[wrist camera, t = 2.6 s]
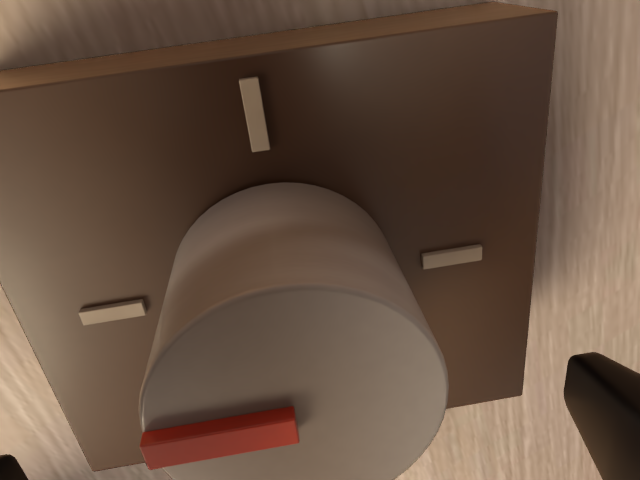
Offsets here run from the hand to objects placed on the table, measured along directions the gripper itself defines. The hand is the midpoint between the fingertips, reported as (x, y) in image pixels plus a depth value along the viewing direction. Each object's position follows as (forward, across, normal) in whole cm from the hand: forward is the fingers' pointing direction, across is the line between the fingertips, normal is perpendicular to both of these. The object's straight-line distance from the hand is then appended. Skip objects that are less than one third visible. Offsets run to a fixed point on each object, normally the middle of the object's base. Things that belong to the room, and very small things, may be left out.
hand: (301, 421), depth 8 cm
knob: (+4, 0, 0) cm, 4 cm away
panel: (+7, 0, 0) cm, 7 cm away
